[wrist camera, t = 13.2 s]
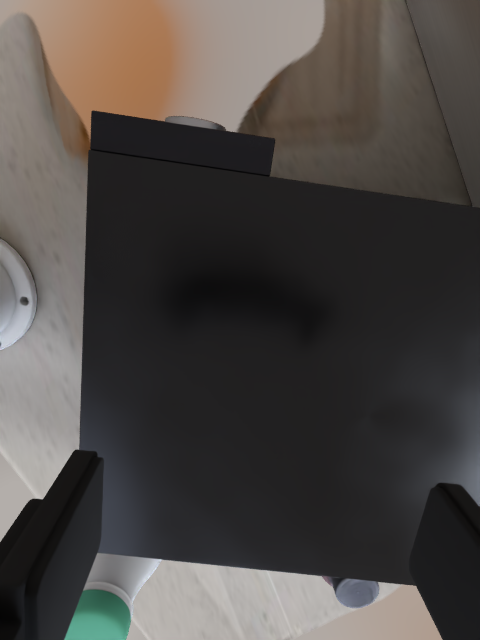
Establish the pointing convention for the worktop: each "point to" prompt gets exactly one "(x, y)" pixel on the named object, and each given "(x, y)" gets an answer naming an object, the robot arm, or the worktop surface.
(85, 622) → the milk bottle
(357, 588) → the supplement bottle
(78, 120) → the worktop surface
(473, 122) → the microwave door
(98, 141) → the microwave
